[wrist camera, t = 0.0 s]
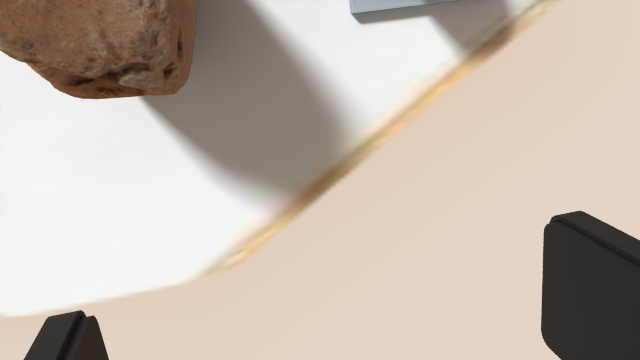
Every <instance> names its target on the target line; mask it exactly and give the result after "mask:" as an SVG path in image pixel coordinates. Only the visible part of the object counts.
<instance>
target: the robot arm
mask: <svg viewBox="0 0 640 360" xmlns="http://www.w3.org/2000/svg"><path fill="white" fill-rule="evenodd" d="M541 332H542V336H543V339H544V341H545V343H546V344H547V346H548V347H549V348H550V349H551V350H552V351H553V352H554V353H555V354H556V355H557V356H558V357H559V358H560V359H561V360H640V240H638V239H636V238H634V237H632V236H630V235H628V234H626V233H624V232H622V231H620V230H618V229H616V228H614V227H612V226H610V225H609V224H607V223H605V222H602V221H601V220H599V219H597V218H595V217H593V216H590V215H589V214H587V213H585V212H582V211H576V212H571V213H566V214H561V215H556V216H554V217H552V218H551V221H550V223H549V224H547V225H546V226H545V228H544V246H543V283H542V317H541ZM24 360H109V358H108V355H107V351H106V348H105V345H104V341H103V338H102V334H101V331H100V328H99V324H98V322H97V319H96V318H95V317H94V316H89V317H86V315H85V313H84V312H83V311H81V310H80V311H75V312H70V313H65V314H60V315H55V316H50V317H48V318H47V319H46V321H45V323H44V324H43V326H42V328H41V330H40V332H39V333H38V335H37V337H36V339H35V340H34V342H33V344H32V346H31V348H30V350H29V351H28V353H27V355H26V357H25V358H24Z"/></svg>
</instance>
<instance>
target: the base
mask: <svg viewBox="0 0 640 360" xmlns="http://www.w3.org/2000/svg"><path fill="white" fill-rule="evenodd" d="M449 1H457V0H350V10H351V13H360V12H368V11H376V10H384V9H392V8H400V7H408V6H416V5H424V4H433V3H441V2H449Z"/></svg>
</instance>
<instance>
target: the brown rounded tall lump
mask: <svg viewBox="0 0 640 360" xmlns="http://www.w3.org/2000/svg"><path fill="white" fill-rule="evenodd" d="M195 10H196V1H195V0H0V51H2V52H4V53H5V54H7V55H8V56H10V57H12V58H14V59H16V60H18V61H20V62H25V63H27V64H28V65H29V66H30V67H31V68H32V69H33V70H34V71H35V72H37V73H38V74H40V75H41V77H43V78H44V79H46V80H47V81H49V82H50V83H51V84H52V85H53V87H54V88H56V89H57V90H59V91H61V92H63V93H66V94H68V95H70V96H73V97H78V98H83V99H106V98H121V97H134V96H144V95H168V94H175V93H176V92H177V91H178V90H179V89H180V88H181V87H182V86H183V85H184V84H185V82H186V81H187V79H188V75H189V71H190V67H191V61H192V53H193V44H194V33H195Z"/></svg>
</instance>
